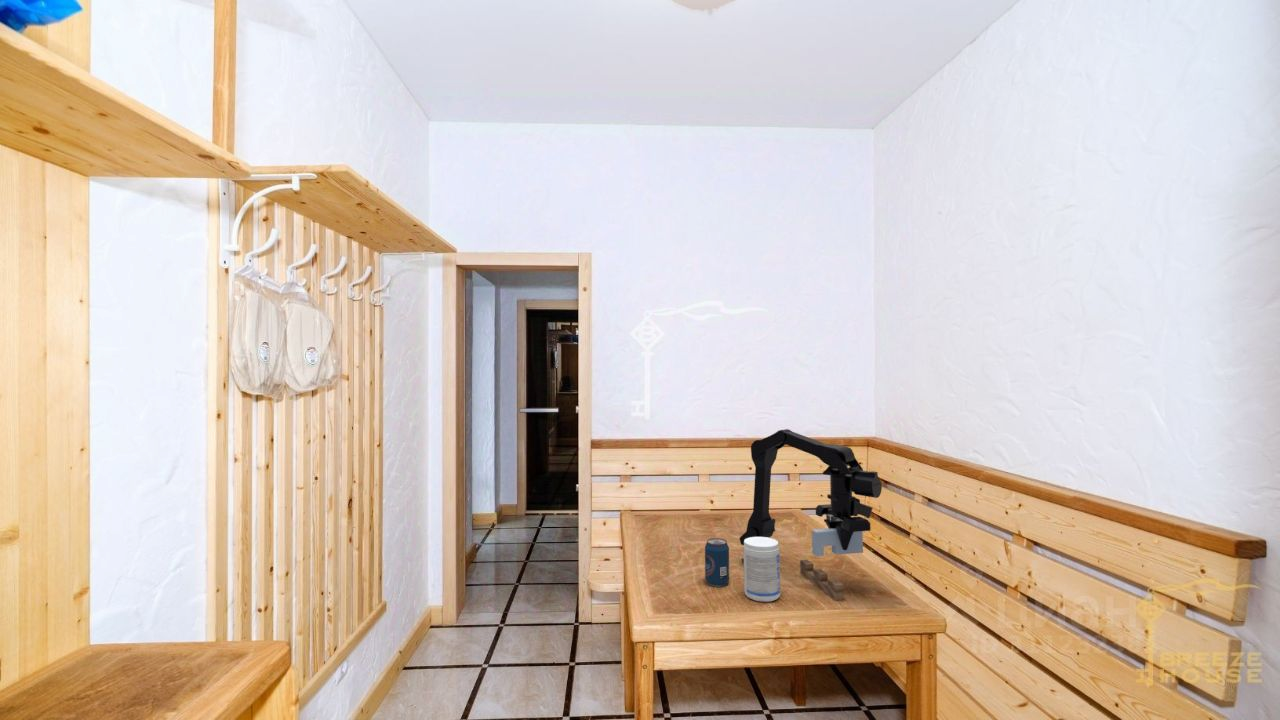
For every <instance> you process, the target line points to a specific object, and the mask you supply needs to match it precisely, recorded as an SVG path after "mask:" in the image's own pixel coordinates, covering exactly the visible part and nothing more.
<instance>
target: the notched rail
mask: <svg viewBox="0 0 1280 720" xmlns="http://www.w3.org/2000/svg"><path fill="white" fill-rule="evenodd" d="M814 567H815V566H814V563H813V562H812V561H810V560H809V559H799V569H800V570H799V573H800V575H802V576H803V577H805V578H806V579H807V580H808V581H810V582H811V583H812V584H814V585H815V586H816V587H818V588H819V589H821V591H823V592H824V593H825V594H827V595H828V596H829V597H831V598H832V599H833V598H834V599H833V600H834V601H836V600H837V601H843V600H845V599H844V598H845V595H844V593H845V591H844V584H843V583H842V582H840V581H839V580H838V579H836V578H832V579H828V578H829V577H828V575H829V574H828V573H827V572H826V571H825V570H823V569H822V568H814Z"/></svg>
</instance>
